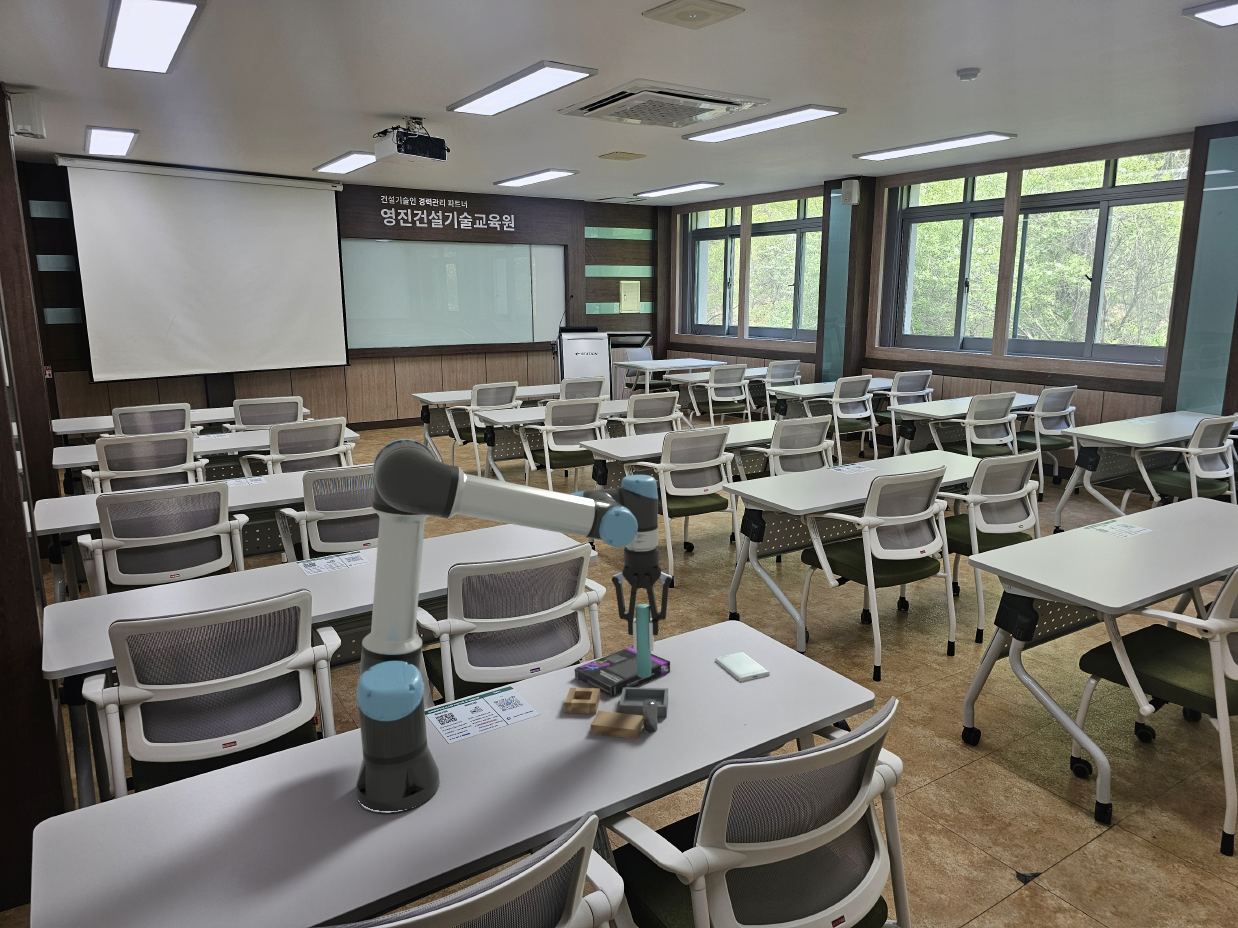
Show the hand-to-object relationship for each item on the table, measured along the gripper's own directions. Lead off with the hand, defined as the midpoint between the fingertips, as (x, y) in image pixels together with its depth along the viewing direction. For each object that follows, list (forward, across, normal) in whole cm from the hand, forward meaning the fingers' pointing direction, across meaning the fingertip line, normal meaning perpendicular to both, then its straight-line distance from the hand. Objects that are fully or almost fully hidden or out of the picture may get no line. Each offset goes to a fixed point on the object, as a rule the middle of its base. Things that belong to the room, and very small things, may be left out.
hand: (643, 647), depth 174 cm
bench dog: (+14, +2, -9) cm, 17 cm away
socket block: (+14, -14, 0) cm, 20 cm away
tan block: (+15, -5, -10) cm, 18 cm away
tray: (+14, 0, 0) cm, 14 cm away
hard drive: (+15, +22, +21) cm, 34 cm away
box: (+15, -7, +16) cm, 23 cm away
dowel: (+6, 0, 0) cm, 6 cm away
